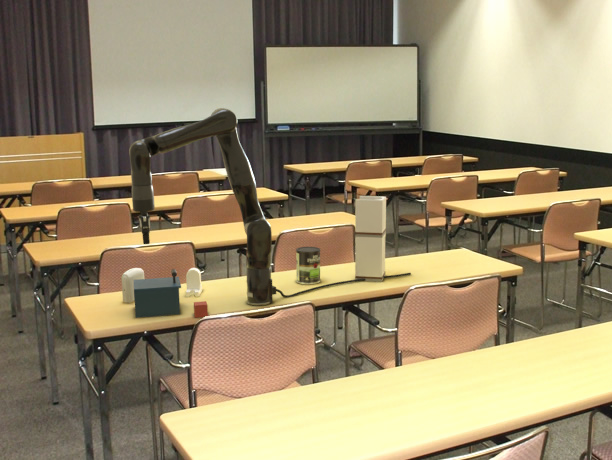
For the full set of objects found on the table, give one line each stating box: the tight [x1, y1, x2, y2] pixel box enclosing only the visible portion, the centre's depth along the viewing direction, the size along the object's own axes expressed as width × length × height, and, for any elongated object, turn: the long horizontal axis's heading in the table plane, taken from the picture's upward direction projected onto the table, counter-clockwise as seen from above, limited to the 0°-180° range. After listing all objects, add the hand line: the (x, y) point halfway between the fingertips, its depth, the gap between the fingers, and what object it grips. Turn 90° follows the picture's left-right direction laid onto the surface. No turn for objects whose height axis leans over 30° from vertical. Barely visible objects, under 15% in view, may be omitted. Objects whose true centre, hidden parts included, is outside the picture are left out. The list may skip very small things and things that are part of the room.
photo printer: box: [120, 267, 145, 304], centre depth 292 cm, size 10×4×12 cm, turn 158°
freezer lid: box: [134, 268, 182, 291], centre depth 277 cm, size 16×14×5 cm
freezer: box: [134, 288, 181, 319], centre depth 278 cm, size 16×14×10 cm
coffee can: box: [295, 246, 321, 285], centre depth 319 cm, size 10×10×14 cm
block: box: [193, 300, 209, 318], centre depth 274 cm, size 4×4×4 cm
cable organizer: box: [185, 267, 203, 298], centre depth 301 cm, size 5×10×10 cm, turn 4°
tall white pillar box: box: [354, 195, 387, 283], centre depth 323 cm, size 11×11×35 cm
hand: (146, 241), depth 273 cm, fingers open, 8 cm apart
